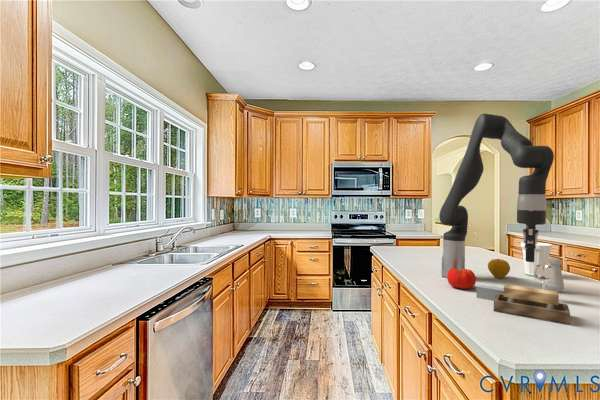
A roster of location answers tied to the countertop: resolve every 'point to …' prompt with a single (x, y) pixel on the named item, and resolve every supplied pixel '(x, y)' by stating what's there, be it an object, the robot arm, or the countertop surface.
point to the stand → (488, 292)
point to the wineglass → (544, 274)
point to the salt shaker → (556, 276)
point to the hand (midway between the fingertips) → (529, 259)
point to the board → (531, 294)
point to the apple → (498, 268)
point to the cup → (536, 257)
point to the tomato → (461, 278)
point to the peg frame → (532, 309)
